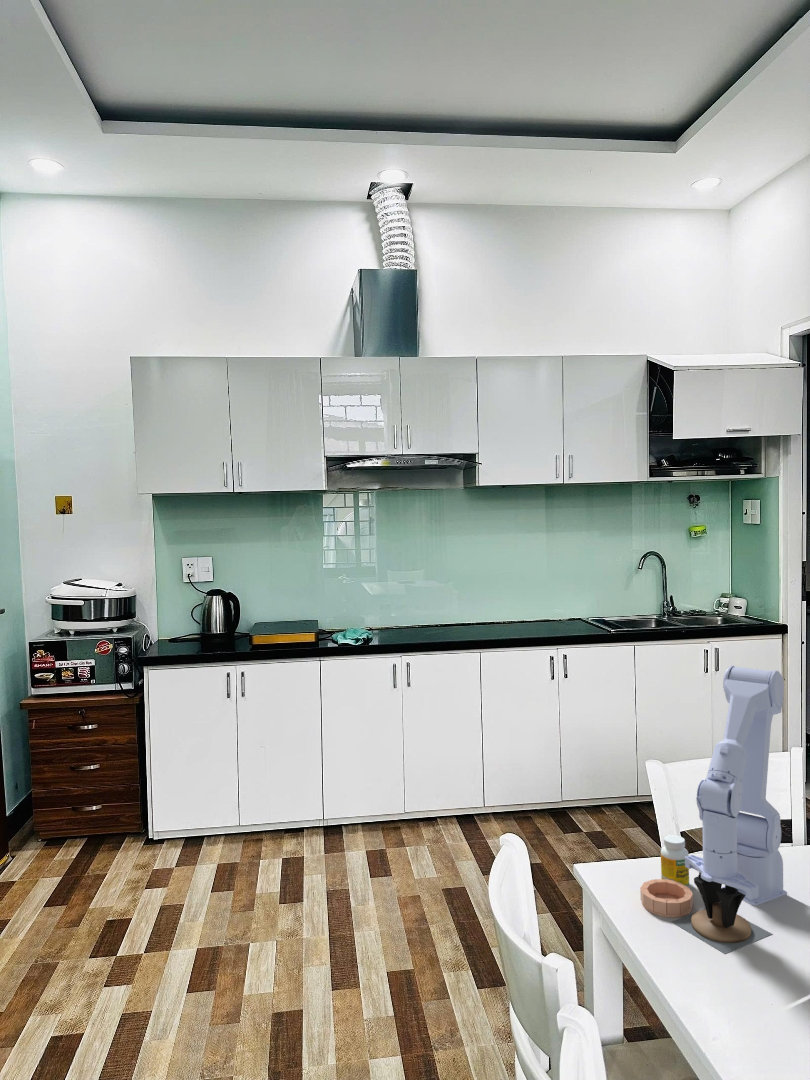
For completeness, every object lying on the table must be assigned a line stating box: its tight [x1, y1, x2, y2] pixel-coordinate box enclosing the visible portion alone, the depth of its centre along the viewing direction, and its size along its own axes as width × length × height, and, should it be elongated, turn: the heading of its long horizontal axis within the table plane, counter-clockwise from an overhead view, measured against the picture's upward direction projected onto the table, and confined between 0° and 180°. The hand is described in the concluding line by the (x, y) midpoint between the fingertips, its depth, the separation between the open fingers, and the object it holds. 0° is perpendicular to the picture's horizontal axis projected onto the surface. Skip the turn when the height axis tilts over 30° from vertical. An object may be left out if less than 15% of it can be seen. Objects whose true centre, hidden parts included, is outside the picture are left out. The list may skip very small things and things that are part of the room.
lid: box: [691, 902, 751, 943], centre depth 142 cm, size 10×10×4 cm
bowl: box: [639, 878, 694, 918], centre depth 151 cm, size 9×9×3 cm
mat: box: [671, 908, 773, 955], centre depth 142 cm, size 12×12×1 cm
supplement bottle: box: [660, 834, 690, 888], centre depth 159 cm, size 5×5×10 cm
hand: (720, 921), depth 142 cm, fingers closed on lid, 3 cm apart
